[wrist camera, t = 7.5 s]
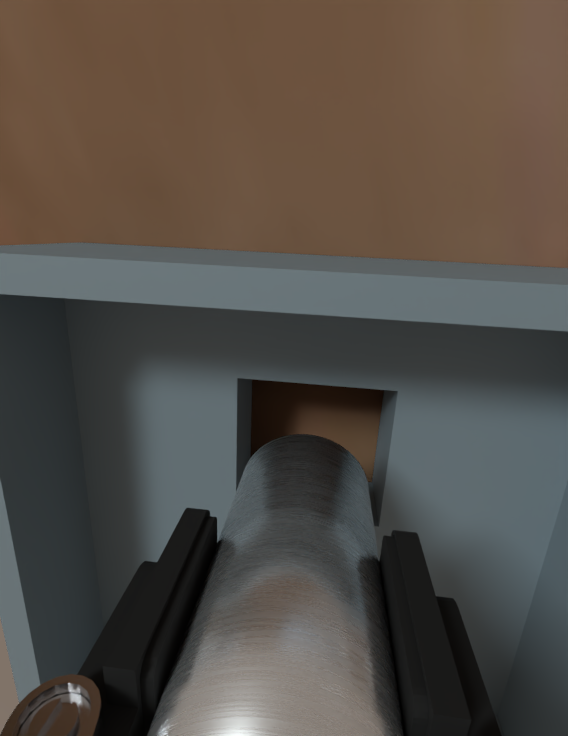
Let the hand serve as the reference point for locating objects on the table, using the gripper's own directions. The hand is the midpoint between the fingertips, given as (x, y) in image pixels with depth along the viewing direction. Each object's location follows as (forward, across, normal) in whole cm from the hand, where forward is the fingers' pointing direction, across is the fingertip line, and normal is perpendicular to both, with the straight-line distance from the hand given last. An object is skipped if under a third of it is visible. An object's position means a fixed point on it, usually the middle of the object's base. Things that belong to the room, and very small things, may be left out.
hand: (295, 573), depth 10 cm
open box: (+9, 0, +3) cm, 9 cm away
